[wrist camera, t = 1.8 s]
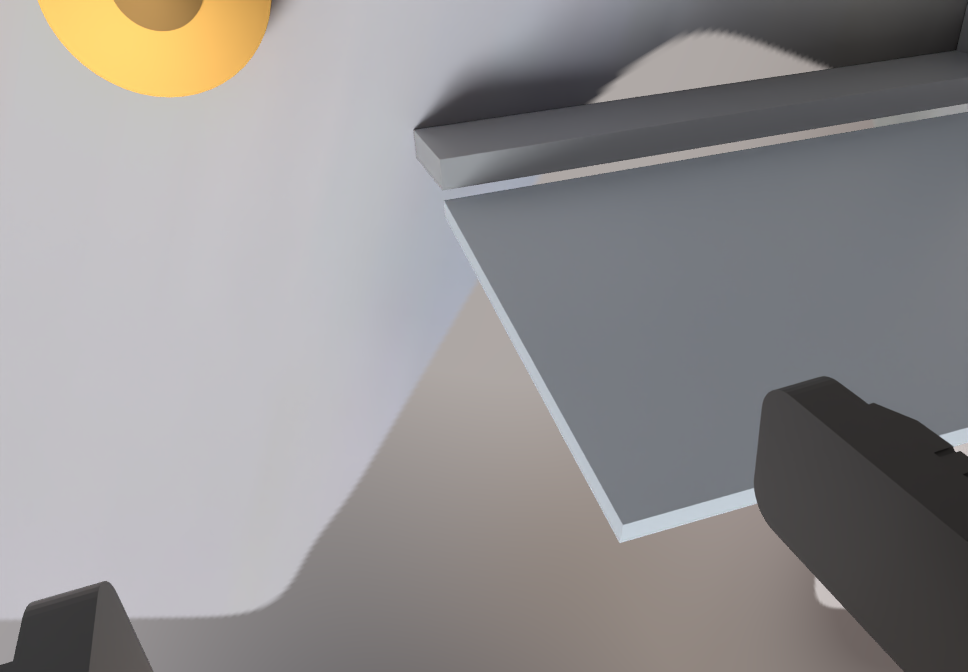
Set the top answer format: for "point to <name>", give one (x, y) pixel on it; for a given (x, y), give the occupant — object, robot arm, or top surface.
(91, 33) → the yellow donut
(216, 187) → the top surface
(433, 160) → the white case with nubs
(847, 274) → the cover
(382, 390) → the top surface
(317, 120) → the top surface
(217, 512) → the top surface
